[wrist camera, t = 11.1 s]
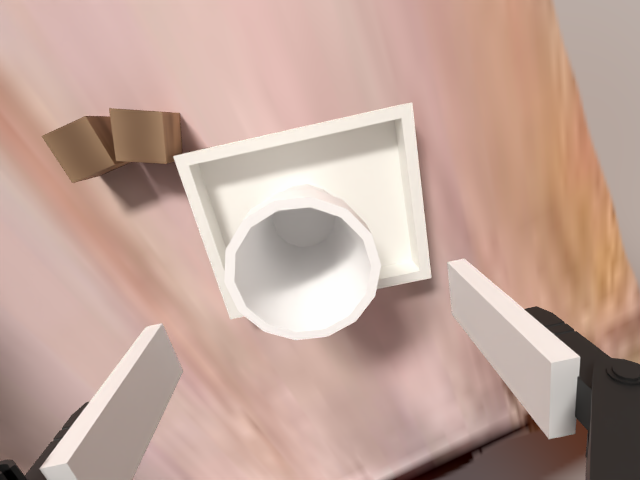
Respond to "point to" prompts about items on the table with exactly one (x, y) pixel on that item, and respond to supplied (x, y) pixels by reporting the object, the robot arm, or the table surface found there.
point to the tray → (318, 185)
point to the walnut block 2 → (145, 135)
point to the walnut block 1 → (84, 147)
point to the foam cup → (302, 264)
